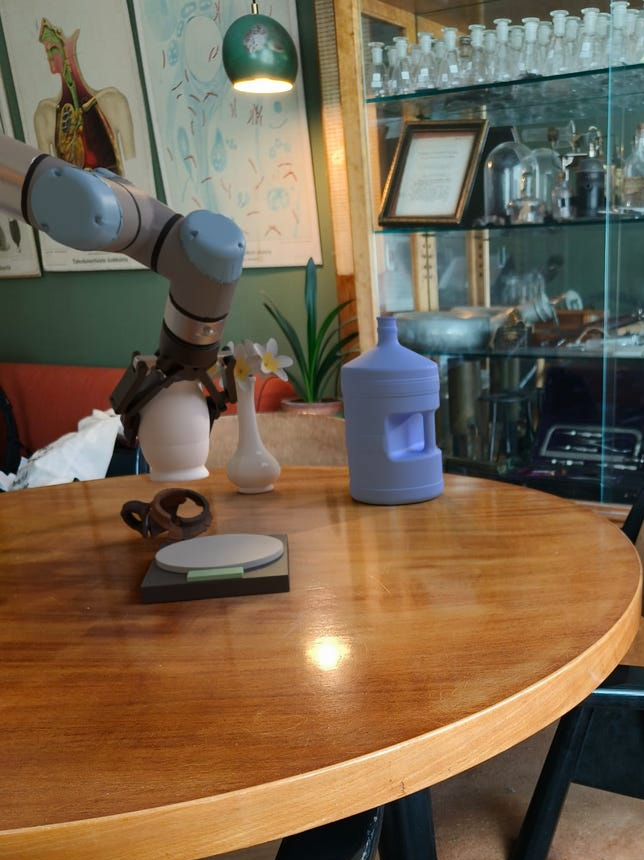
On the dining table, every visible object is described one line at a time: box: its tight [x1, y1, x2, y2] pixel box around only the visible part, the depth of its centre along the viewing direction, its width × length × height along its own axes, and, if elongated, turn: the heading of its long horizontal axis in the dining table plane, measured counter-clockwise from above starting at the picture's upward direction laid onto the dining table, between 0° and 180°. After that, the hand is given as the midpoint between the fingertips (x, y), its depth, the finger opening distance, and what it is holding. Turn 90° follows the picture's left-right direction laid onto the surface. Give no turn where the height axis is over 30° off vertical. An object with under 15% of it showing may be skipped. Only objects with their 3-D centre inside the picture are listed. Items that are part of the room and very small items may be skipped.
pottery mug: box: [119, 487, 214, 543], centre depth 121 cm, size 12×10×8 cm
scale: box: [139, 533, 291, 605], centre depth 107 cm, size 16×19×3 cm
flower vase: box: [201, 337, 294, 495], centre depth 149 cm, size 13×18×25 cm
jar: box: [137, 374, 210, 484], centre depth 129 cm, size 11×10×15 cm
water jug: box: [340, 315, 445, 506], centre depth 142 cm, size 16×16×28 cm
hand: (167, 435), depth 132 cm, fingers closed on jar, 11 cm apart
